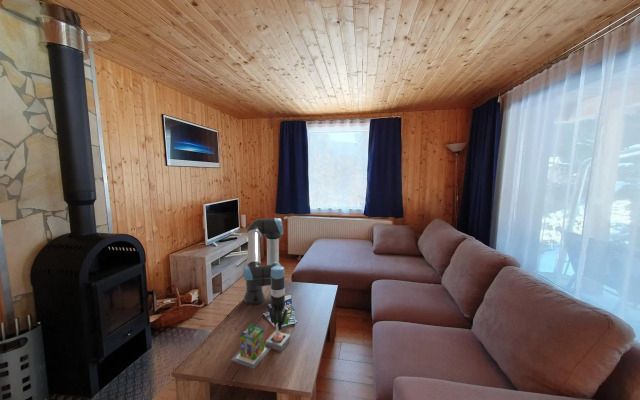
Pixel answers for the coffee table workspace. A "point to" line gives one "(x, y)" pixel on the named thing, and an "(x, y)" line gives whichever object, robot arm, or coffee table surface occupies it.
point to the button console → (275, 344)
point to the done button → (278, 338)
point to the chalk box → (251, 342)
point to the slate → (250, 362)
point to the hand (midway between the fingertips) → (278, 335)
